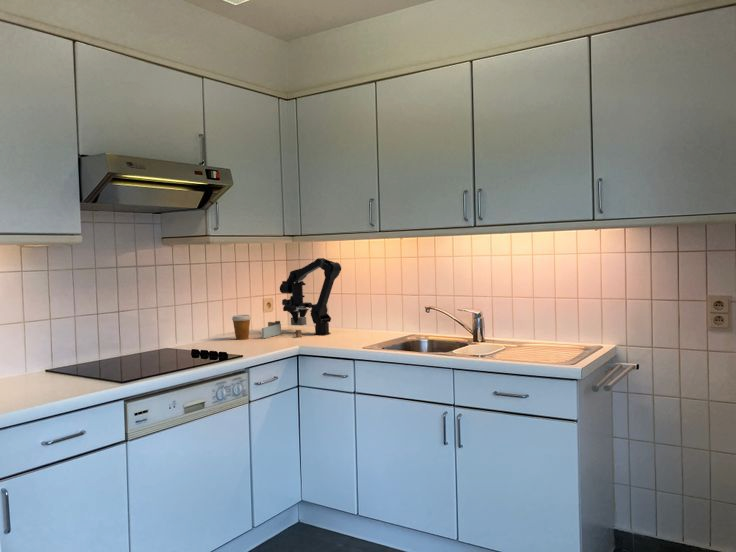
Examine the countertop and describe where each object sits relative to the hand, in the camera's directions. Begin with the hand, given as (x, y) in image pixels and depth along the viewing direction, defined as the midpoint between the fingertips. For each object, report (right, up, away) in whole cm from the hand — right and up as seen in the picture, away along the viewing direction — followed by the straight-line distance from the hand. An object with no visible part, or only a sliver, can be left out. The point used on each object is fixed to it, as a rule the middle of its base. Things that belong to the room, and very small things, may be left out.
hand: (298, 322), depth 341 cm
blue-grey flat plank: (-13, -6, -10) cm, 17 cm away
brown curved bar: (-7, -6, -6) cm, 11 cm away
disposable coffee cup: (-27, -7, -14) cm, 32 cm away
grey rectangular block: (0, -1, 0) cm, 1 cm away
